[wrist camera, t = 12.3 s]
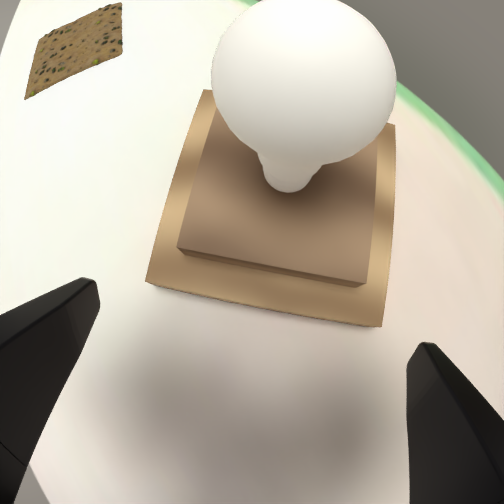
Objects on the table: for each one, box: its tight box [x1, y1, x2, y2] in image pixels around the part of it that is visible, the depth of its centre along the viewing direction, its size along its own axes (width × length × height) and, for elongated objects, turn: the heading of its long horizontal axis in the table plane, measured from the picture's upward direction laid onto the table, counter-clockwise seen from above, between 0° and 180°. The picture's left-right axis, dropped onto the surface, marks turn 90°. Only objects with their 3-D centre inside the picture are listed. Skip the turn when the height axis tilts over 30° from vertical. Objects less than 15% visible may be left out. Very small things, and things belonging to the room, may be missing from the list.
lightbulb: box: [211, 0, 396, 193], centre depth 12 cm, size 6×6×11 cm
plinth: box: [145, 90, 396, 327], centre depth 19 cm, size 14×14×4 cm
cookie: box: [24, 2, 123, 100], centre depth 26 cm, size 12×12×1 cm
